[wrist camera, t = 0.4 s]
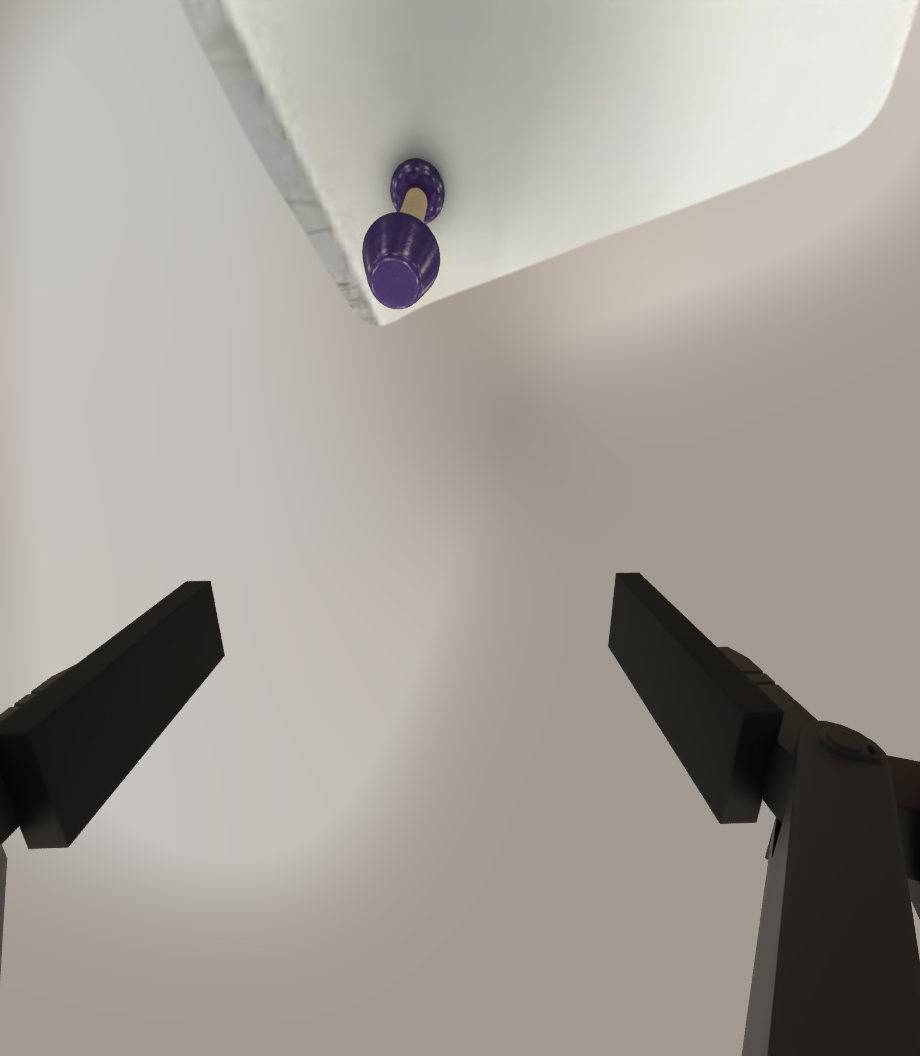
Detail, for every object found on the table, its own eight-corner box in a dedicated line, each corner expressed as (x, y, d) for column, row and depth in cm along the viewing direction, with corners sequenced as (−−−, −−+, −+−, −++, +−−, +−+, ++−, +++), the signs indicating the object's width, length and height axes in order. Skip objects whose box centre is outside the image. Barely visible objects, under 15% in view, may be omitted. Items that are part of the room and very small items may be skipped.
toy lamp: (379, 210, 36) (349, 314, 26) (389, 139, 33) (359, 226, 22) (437, 230, 37) (430, 337, 27) (452, 163, 34) (451, 256, 24)
